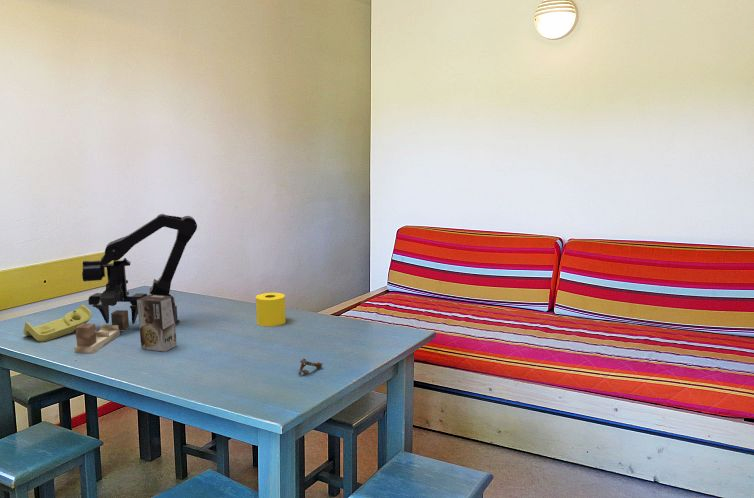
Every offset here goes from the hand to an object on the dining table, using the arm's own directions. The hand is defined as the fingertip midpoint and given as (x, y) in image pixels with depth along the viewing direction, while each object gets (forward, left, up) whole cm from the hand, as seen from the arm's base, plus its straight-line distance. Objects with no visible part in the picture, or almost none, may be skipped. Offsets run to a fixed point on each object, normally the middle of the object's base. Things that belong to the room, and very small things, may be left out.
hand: (120, 323), depth 215 cm
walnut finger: (0, 0, -2) cm, 2 cm away
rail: (0, +15, -2) cm, 16 cm away
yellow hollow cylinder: (-50, -10, -2) cm, 51 cm away
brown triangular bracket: (-72, +36, -2) cm, 80 cm away
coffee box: (-21, +18, -2) cm, 28 cm away
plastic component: (+18, +5, -2) cm, 19 cm away
